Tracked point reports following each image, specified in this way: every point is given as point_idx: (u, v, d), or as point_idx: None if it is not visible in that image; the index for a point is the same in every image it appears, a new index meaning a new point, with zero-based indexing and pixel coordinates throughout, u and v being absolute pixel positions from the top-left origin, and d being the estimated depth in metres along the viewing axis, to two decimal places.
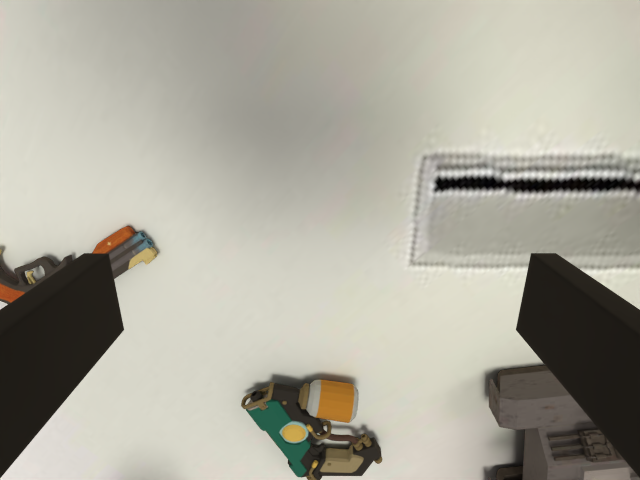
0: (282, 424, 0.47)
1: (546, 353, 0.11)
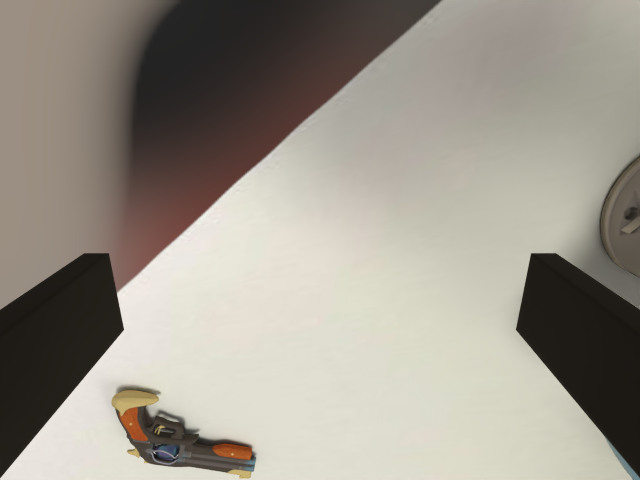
0: None
1: (546, 353, 0.11)
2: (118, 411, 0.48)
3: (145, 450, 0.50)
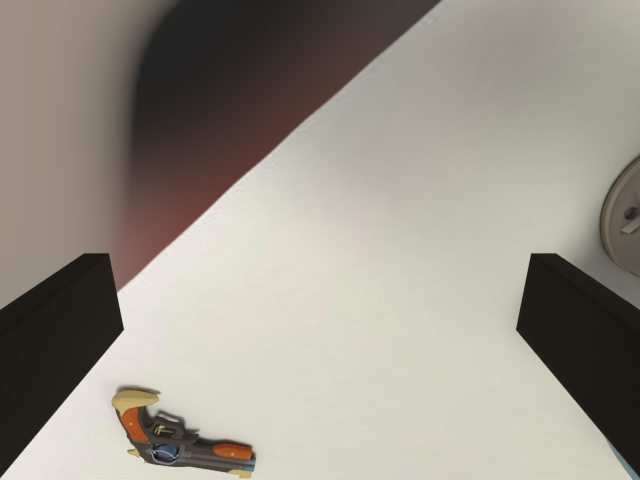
0: None
1: (546, 353, 0.11)
2: (118, 411, 0.48)
3: (145, 450, 0.50)
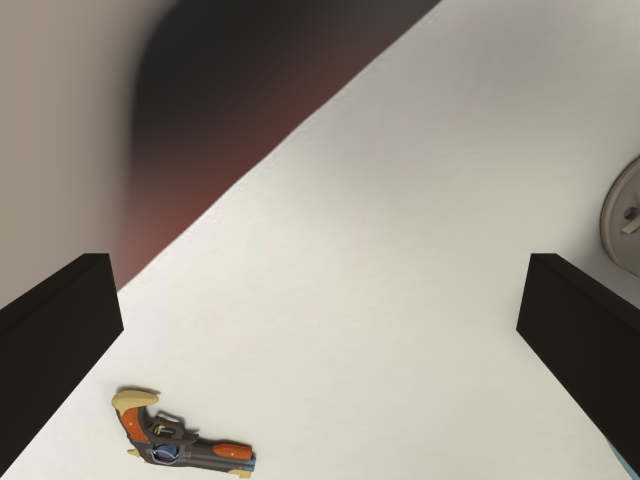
0: None
1: (546, 353, 0.11)
2: (118, 411, 0.48)
3: (145, 450, 0.50)
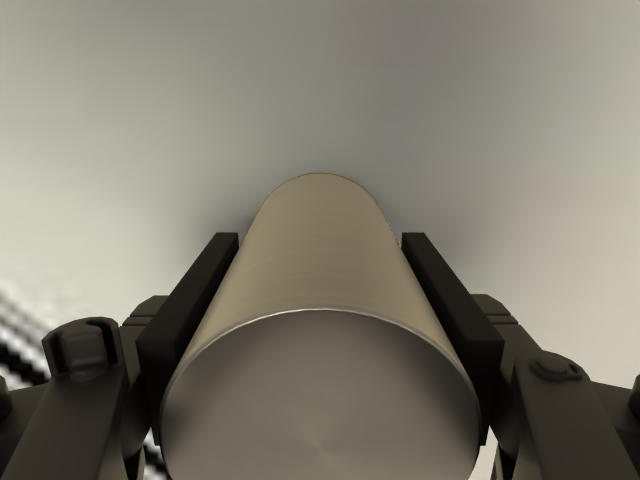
0: None
1: None
2: None
3: None
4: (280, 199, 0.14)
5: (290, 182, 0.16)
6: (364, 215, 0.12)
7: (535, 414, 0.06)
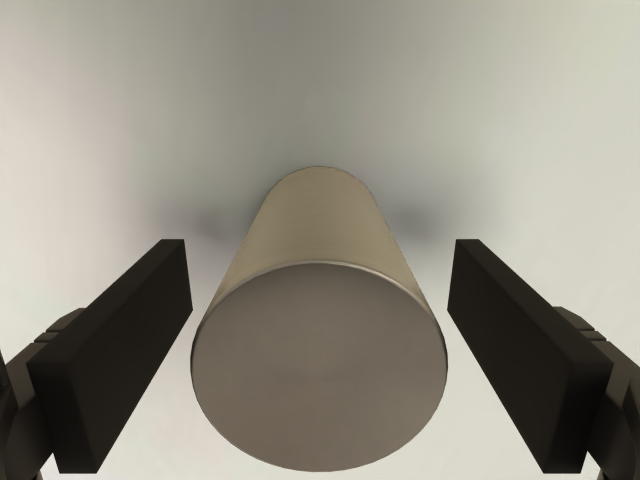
0: None
1: (464, 329, 0.12)
2: None
3: None
4: (284, 188, 0.15)
5: (293, 174, 0.17)
6: (357, 200, 0.13)
7: None
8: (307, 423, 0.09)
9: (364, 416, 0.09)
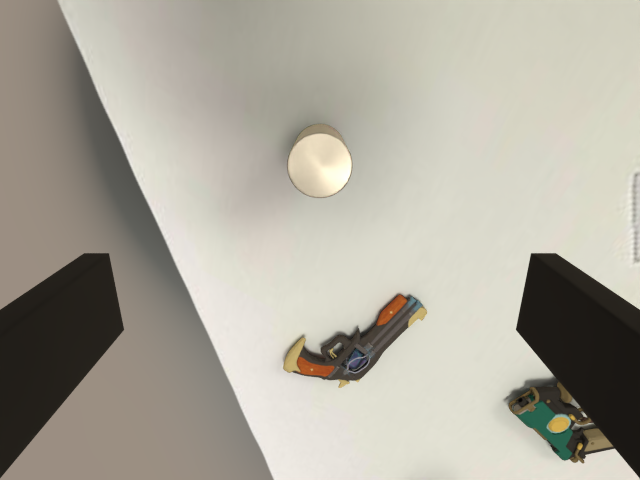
0: (549, 419, 0.55)
1: (546, 353, 0.11)
2: (296, 371, 0.53)
3: (344, 374, 0.53)
4: (306, 129, 0.41)
5: (309, 126, 0.44)
6: (332, 130, 0.40)
7: None
8: (316, 180, 0.35)
9: (331, 178, 0.35)
